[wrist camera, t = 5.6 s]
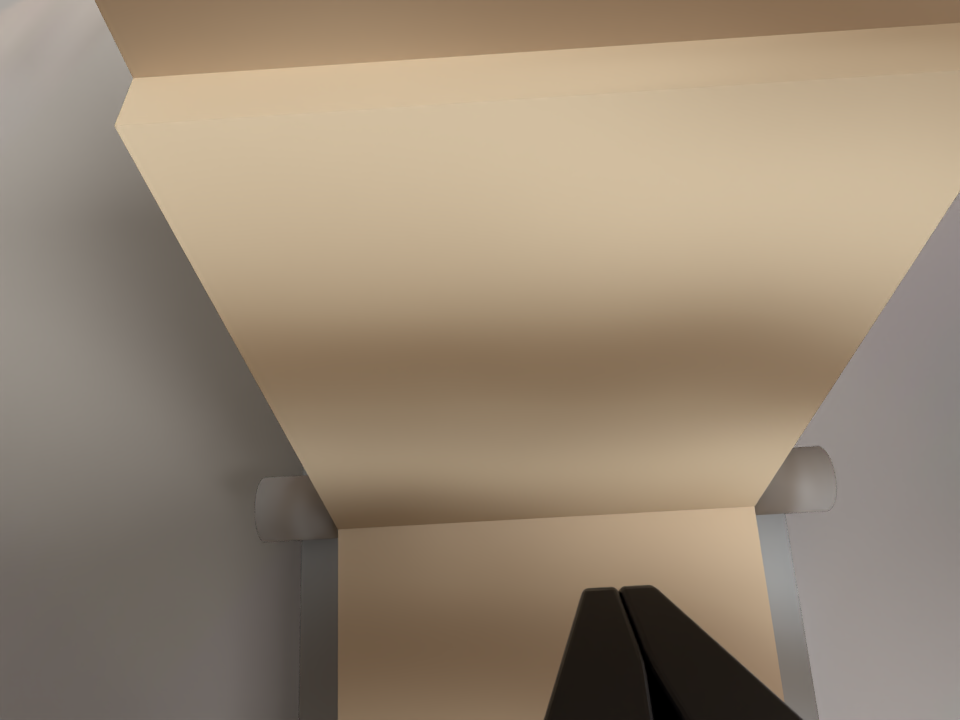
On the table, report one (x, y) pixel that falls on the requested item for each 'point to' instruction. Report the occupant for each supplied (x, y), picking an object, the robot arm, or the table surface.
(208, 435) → the table surface
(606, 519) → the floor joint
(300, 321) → the click plank
